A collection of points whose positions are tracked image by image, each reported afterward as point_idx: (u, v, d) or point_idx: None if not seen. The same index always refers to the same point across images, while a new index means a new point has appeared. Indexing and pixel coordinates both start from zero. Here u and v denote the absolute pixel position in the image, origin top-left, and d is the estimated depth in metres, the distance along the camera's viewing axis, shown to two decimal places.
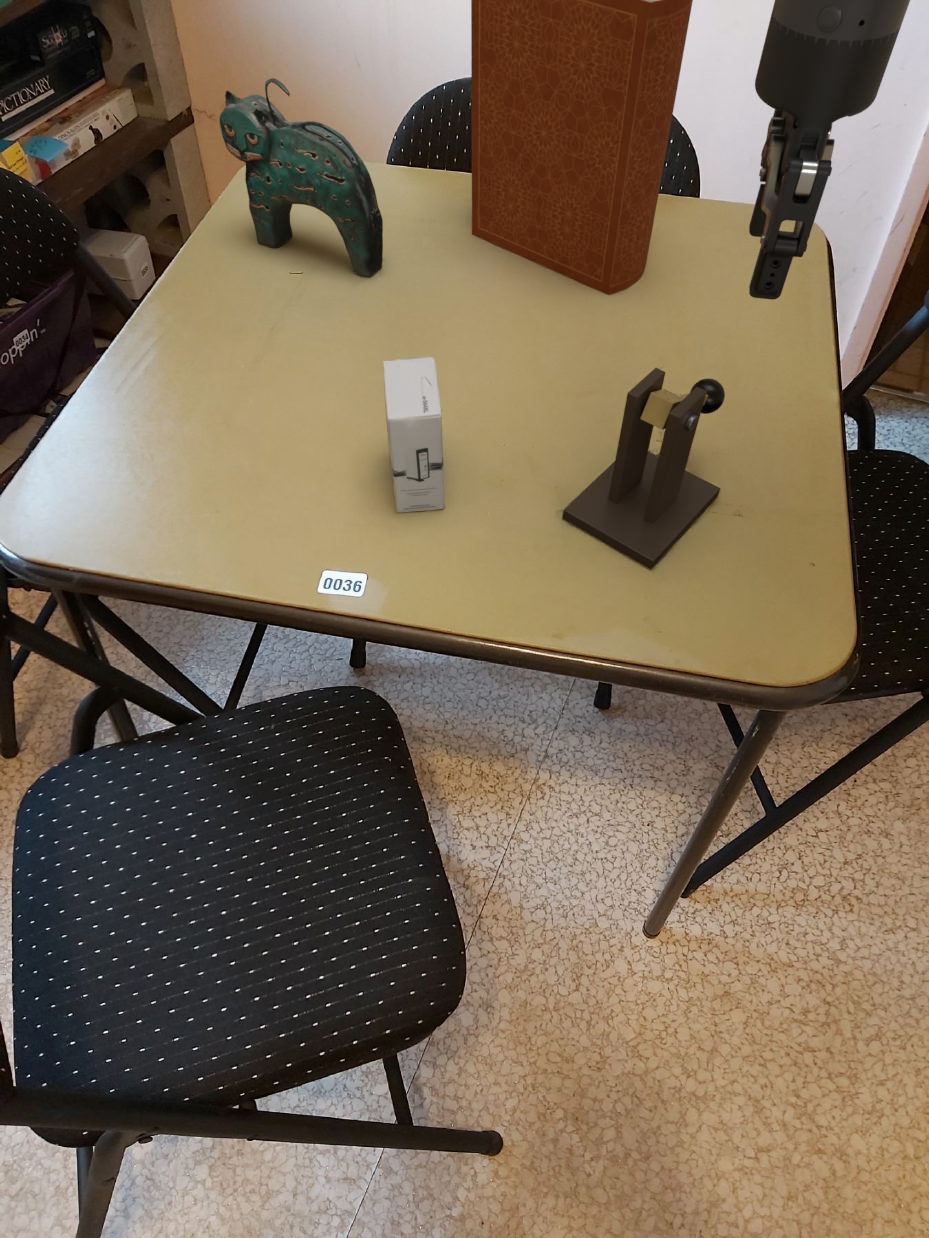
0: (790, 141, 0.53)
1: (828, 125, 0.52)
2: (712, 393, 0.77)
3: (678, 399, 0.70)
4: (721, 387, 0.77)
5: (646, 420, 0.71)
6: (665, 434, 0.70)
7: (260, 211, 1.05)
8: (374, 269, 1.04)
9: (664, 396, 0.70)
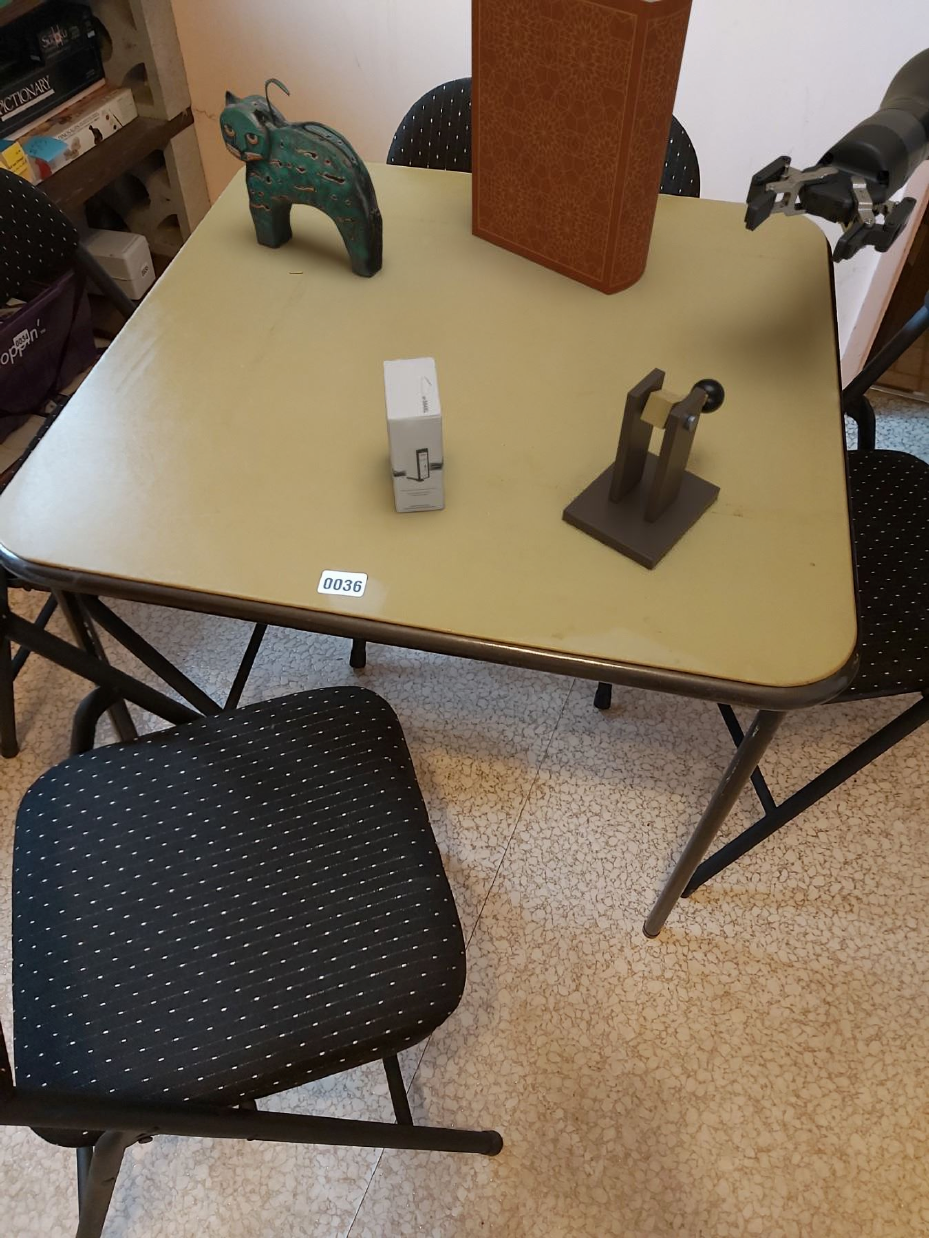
0: None
1: (816, 164, 0.81)
2: (712, 393, 0.77)
3: (678, 399, 0.70)
4: (721, 387, 0.77)
5: (646, 420, 0.71)
6: (665, 434, 0.70)
7: (260, 211, 1.05)
8: (374, 269, 1.04)
9: (664, 396, 0.70)
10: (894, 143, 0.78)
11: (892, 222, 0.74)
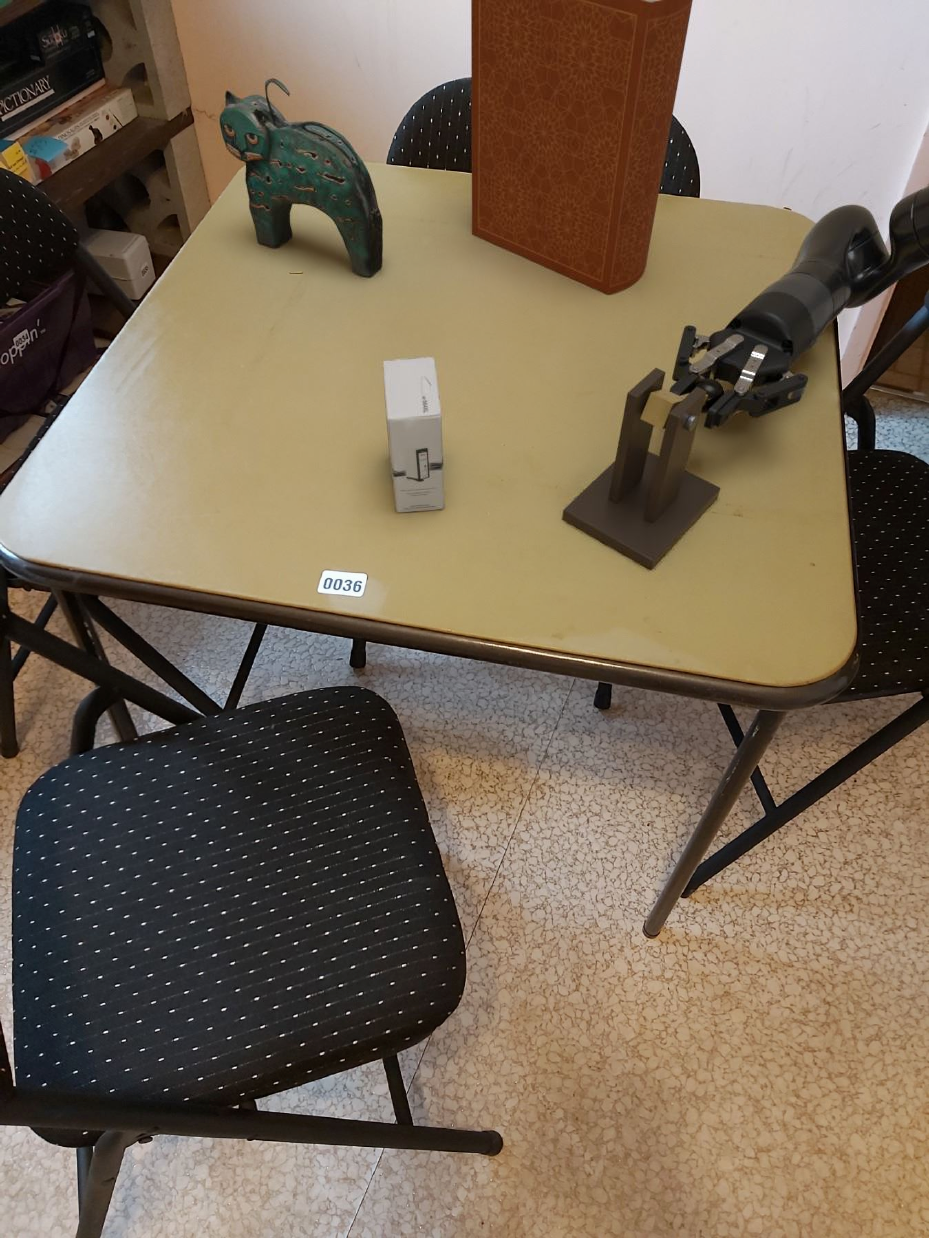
0: None
1: None
2: (712, 393, 0.77)
3: (678, 399, 0.70)
4: (721, 387, 0.77)
5: (646, 420, 0.71)
6: (665, 434, 0.70)
7: (260, 211, 1.05)
8: (374, 269, 1.04)
9: (664, 396, 0.70)
10: (798, 312, 0.81)
11: (761, 392, 0.77)
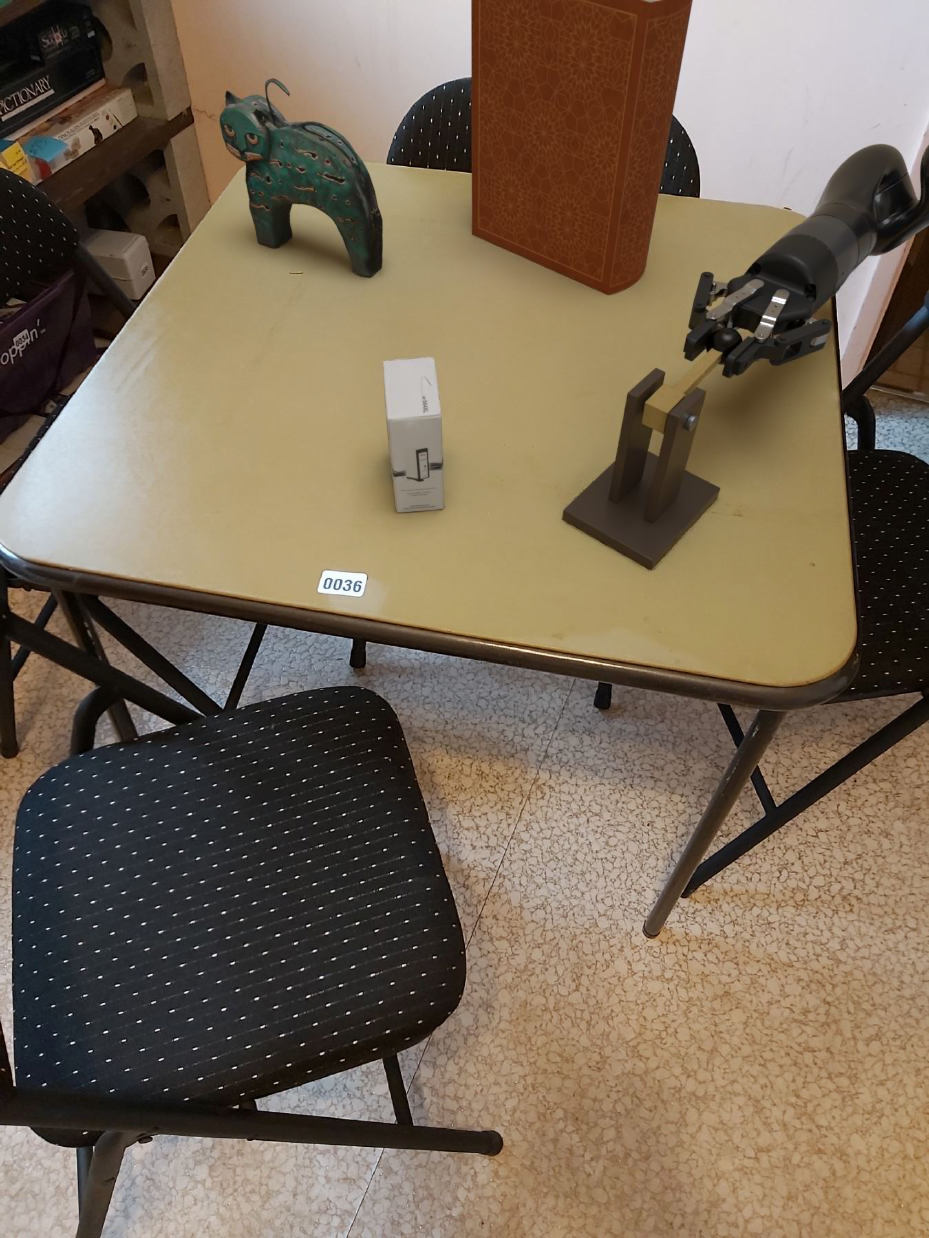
0: None
1: None
2: (726, 349, 0.74)
3: (675, 400, 0.70)
4: (736, 338, 0.73)
5: (647, 425, 0.72)
6: (665, 434, 0.70)
7: (260, 211, 1.05)
8: (374, 269, 1.04)
9: (659, 403, 0.70)
10: (822, 255, 0.77)
11: (783, 337, 0.73)
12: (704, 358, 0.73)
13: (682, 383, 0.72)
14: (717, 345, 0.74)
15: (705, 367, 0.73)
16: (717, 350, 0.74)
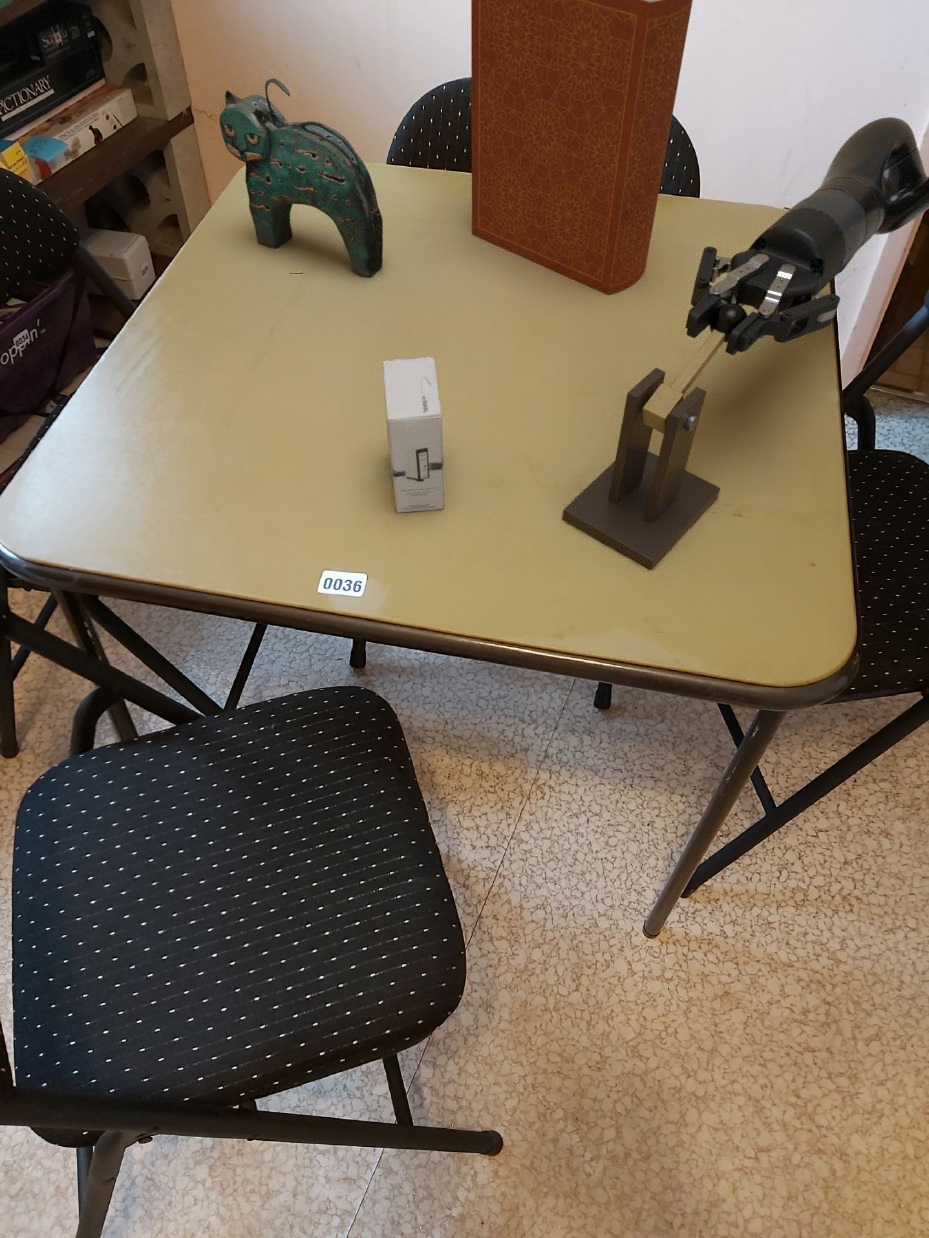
0: None
1: (749, 248, 0.77)
2: (729, 330, 0.71)
3: (673, 402, 0.70)
4: (739, 317, 0.71)
5: (649, 425, 0.72)
6: (665, 434, 0.70)
7: (260, 211, 1.05)
8: (374, 269, 1.04)
9: (657, 407, 0.70)
10: (829, 229, 0.74)
11: (789, 313, 0.70)
12: (706, 343, 0.72)
13: (682, 377, 0.71)
14: (719, 326, 0.72)
15: (706, 354, 0.71)
16: (720, 331, 0.72)
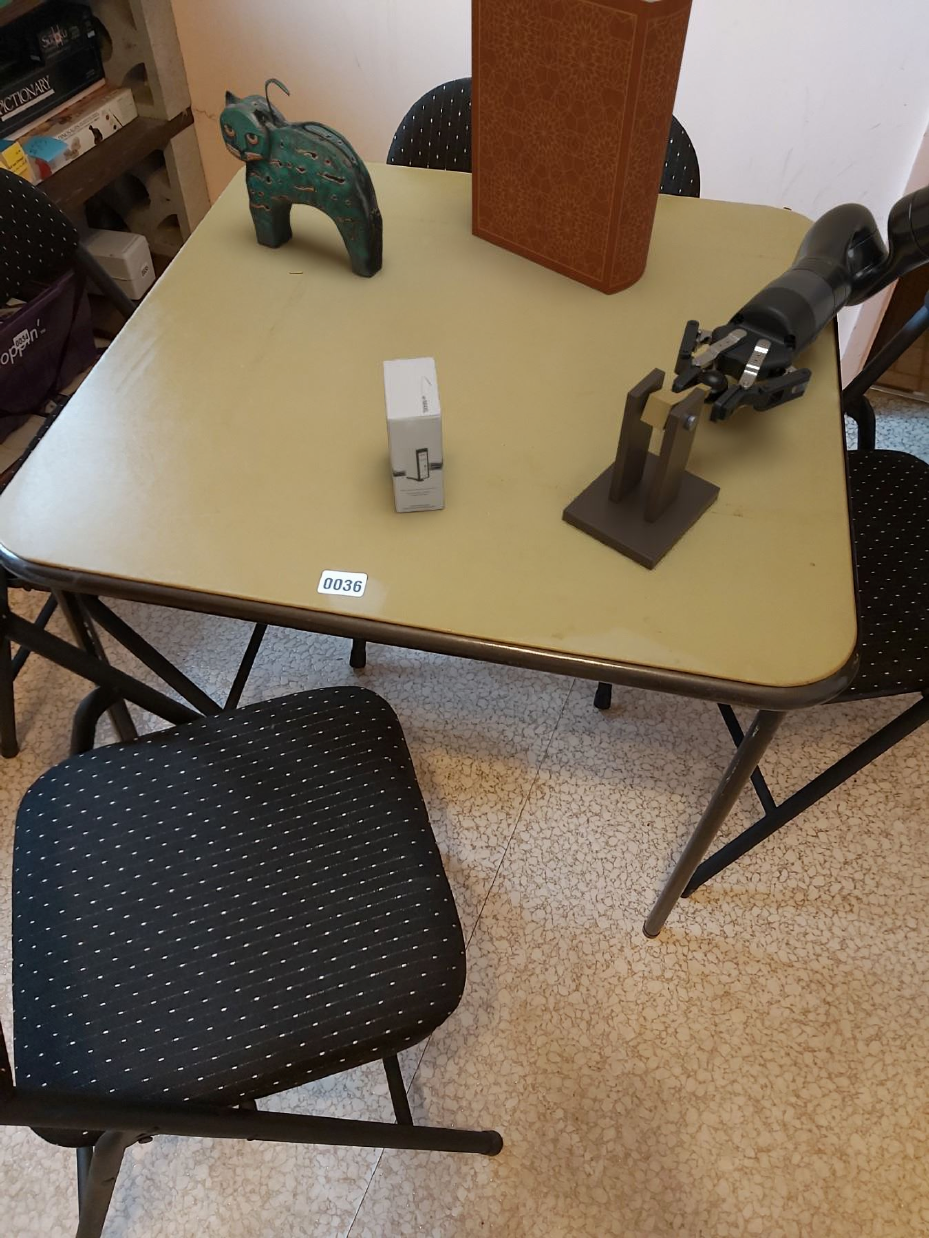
0: None
1: (728, 322, 0.84)
2: (715, 385, 0.76)
3: (678, 399, 0.70)
4: (724, 378, 0.77)
5: (646, 421, 0.71)
6: (665, 434, 0.70)
7: (260, 211, 1.05)
8: (374, 269, 1.04)
9: (663, 397, 0.70)
10: (801, 308, 0.81)
11: (766, 386, 0.77)
12: (696, 386, 0.76)
13: None
14: (707, 380, 0.77)
15: None
16: (707, 385, 0.77)
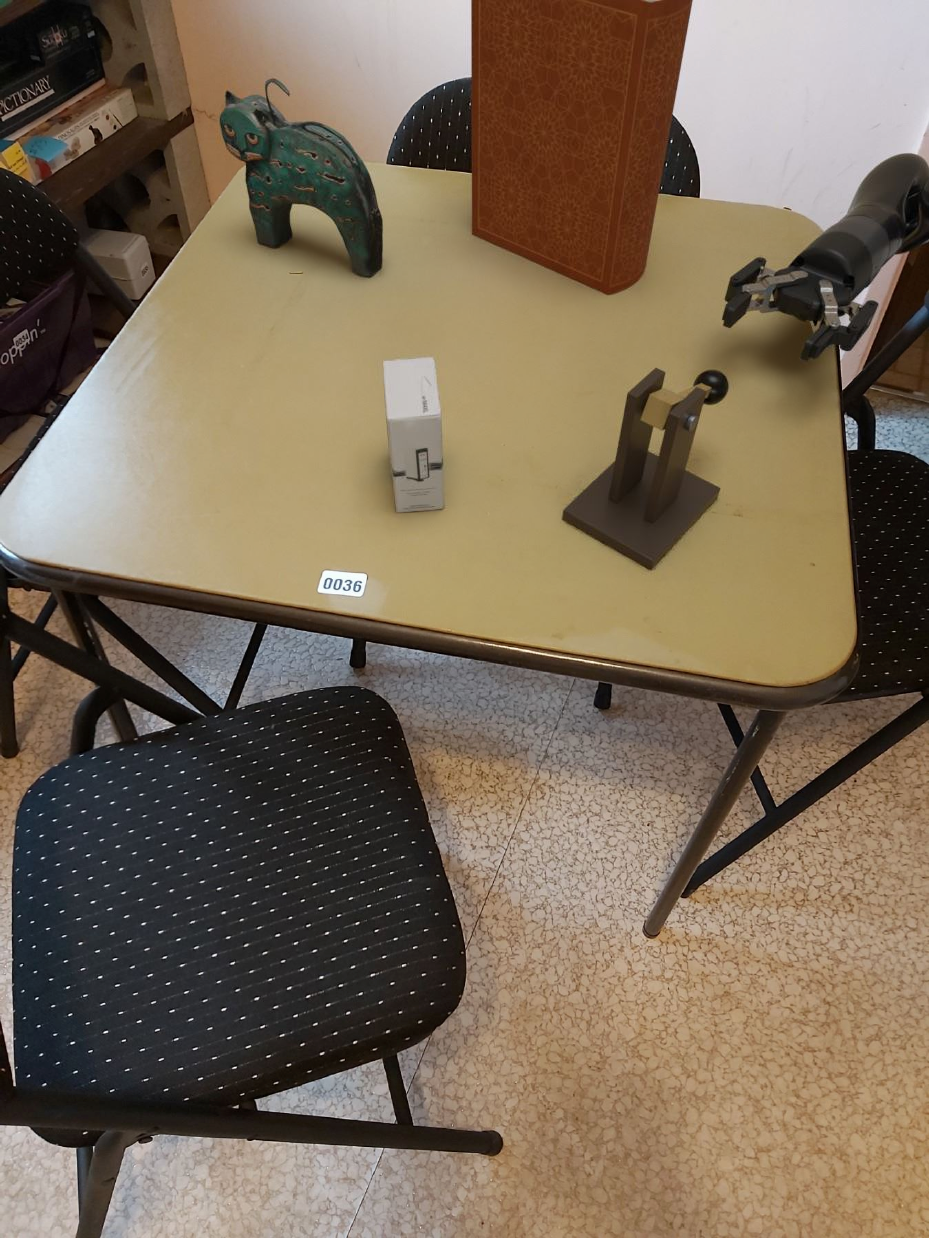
0: None
1: (789, 265, 0.89)
2: (715, 385, 0.76)
3: (678, 399, 0.70)
4: (724, 378, 0.77)
5: (646, 421, 0.71)
6: (665, 434, 0.70)
7: (260, 211, 1.05)
8: (374, 269, 1.04)
9: (663, 397, 0.70)
10: (859, 250, 0.86)
11: (855, 325, 0.82)
12: (696, 386, 0.76)
13: None
14: (707, 380, 0.77)
15: None
16: (707, 385, 0.77)
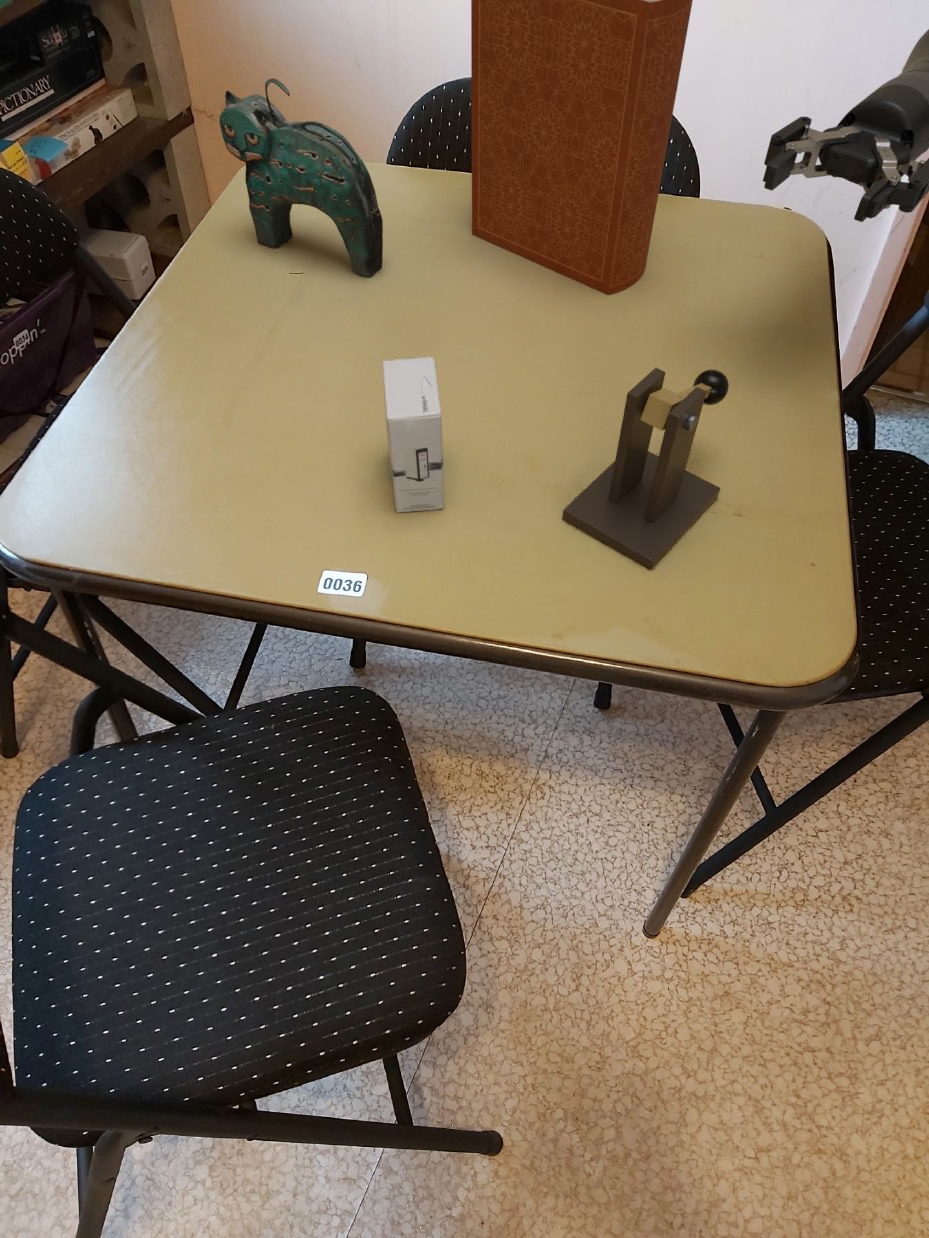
0: None
1: (837, 125, 0.78)
2: (715, 385, 0.76)
3: (678, 399, 0.70)
4: (724, 378, 0.77)
5: (646, 421, 0.71)
6: (665, 434, 0.70)
7: (260, 211, 1.05)
8: (374, 269, 1.04)
9: (663, 397, 0.70)
10: (919, 103, 0.76)
11: (918, 180, 0.71)
12: (696, 386, 0.76)
13: None
14: (707, 380, 0.77)
15: None
16: (707, 385, 0.77)
